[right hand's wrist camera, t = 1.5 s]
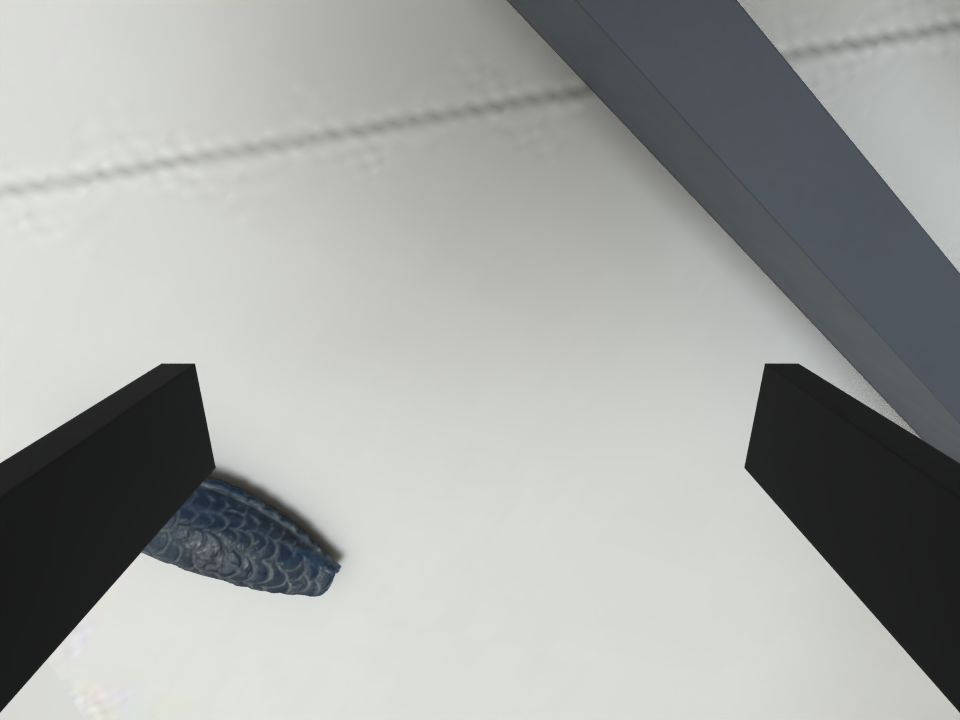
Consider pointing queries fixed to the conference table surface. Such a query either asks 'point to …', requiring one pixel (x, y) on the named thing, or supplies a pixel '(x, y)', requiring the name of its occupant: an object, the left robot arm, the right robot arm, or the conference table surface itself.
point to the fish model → (242, 543)
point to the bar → (778, 185)
